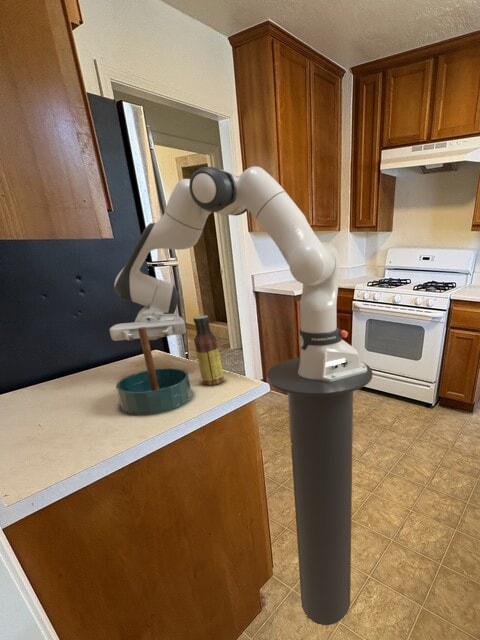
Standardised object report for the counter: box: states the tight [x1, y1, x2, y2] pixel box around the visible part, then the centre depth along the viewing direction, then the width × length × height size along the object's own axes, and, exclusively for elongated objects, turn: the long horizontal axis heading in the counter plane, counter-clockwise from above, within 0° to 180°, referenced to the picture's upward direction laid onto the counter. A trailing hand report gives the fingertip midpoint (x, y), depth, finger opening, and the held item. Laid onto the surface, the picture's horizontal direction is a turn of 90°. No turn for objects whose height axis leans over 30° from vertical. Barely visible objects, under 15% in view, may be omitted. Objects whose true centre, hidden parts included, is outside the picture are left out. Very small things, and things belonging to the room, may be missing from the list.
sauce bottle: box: [192, 315, 225, 386], centre depth 102 cm, size 7×6×20 cm
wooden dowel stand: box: [138, 327, 159, 391], centre depth 91 cm, size 5×5×19 cm
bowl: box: [115, 367, 193, 416], centre depth 94 cm, size 17×17×6 cm
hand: (148, 335), depth 99 cm, fingers open, 8 cm apart
